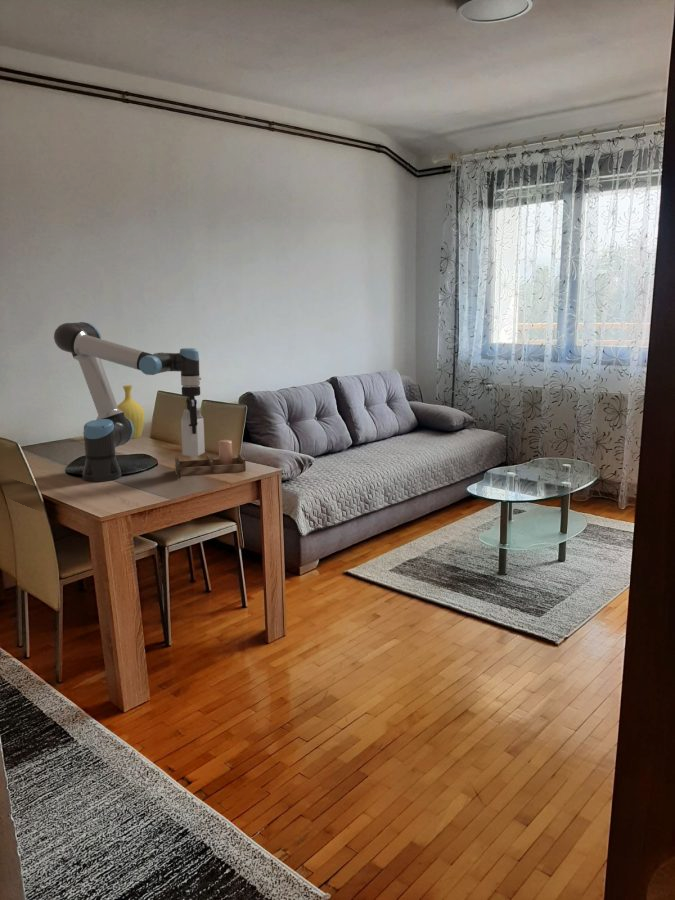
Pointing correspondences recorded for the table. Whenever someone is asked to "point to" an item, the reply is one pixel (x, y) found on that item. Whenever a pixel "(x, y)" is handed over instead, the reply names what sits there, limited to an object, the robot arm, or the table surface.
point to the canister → (225, 452)
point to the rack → (208, 466)
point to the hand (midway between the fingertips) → (193, 438)
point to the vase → (132, 412)
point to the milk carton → (188, 446)
